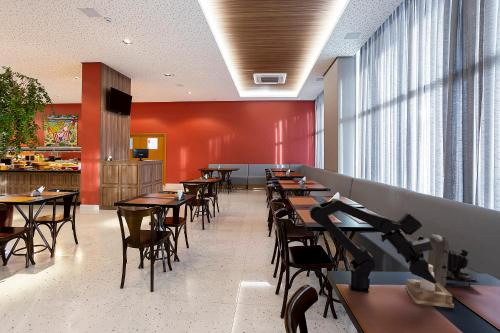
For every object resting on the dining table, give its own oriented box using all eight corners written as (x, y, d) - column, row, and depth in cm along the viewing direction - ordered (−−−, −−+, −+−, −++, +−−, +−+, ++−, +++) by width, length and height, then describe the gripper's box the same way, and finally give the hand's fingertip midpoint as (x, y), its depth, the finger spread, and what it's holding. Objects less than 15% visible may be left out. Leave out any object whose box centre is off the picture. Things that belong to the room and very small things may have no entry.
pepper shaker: (416, 293, 105) (417, 264, 105) (422, 289, 109) (423, 261, 108) (432, 299, 101) (434, 269, 101) (438, 295, 105) (439, 265, 104)
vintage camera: (479, 293, 110) (484, 242, 110) (435, 287, 113) (439, 237, 113) (466, 283, 120) (470, 236, 119) (425, 277, 123) (429, 232, 122)
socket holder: (415, 303, 100) (416, 292, 100) (404, 288, 112) (405, 278, 112) (454, 307, 98) (454, 296, 98) (438, 291, 110) (439, 281, 109)
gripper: (422, 236, 97) (459, 275, 93) (415, 225, 114) (447, 257, 110) (395, 255, 101) (430, 293, 97) (392, 242, 118) (422, 273, 114)
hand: (433, 278), depth 104 cm, fingers open, 9 cm apart
